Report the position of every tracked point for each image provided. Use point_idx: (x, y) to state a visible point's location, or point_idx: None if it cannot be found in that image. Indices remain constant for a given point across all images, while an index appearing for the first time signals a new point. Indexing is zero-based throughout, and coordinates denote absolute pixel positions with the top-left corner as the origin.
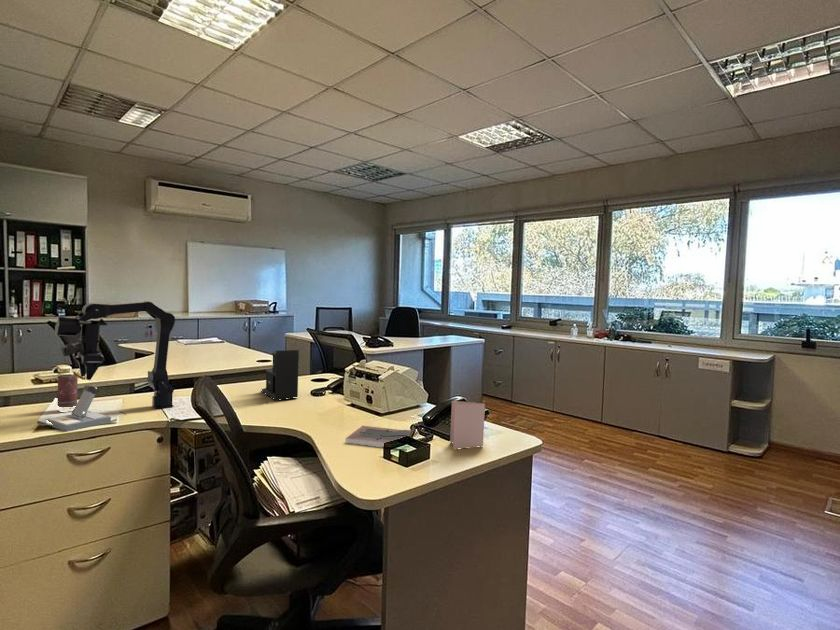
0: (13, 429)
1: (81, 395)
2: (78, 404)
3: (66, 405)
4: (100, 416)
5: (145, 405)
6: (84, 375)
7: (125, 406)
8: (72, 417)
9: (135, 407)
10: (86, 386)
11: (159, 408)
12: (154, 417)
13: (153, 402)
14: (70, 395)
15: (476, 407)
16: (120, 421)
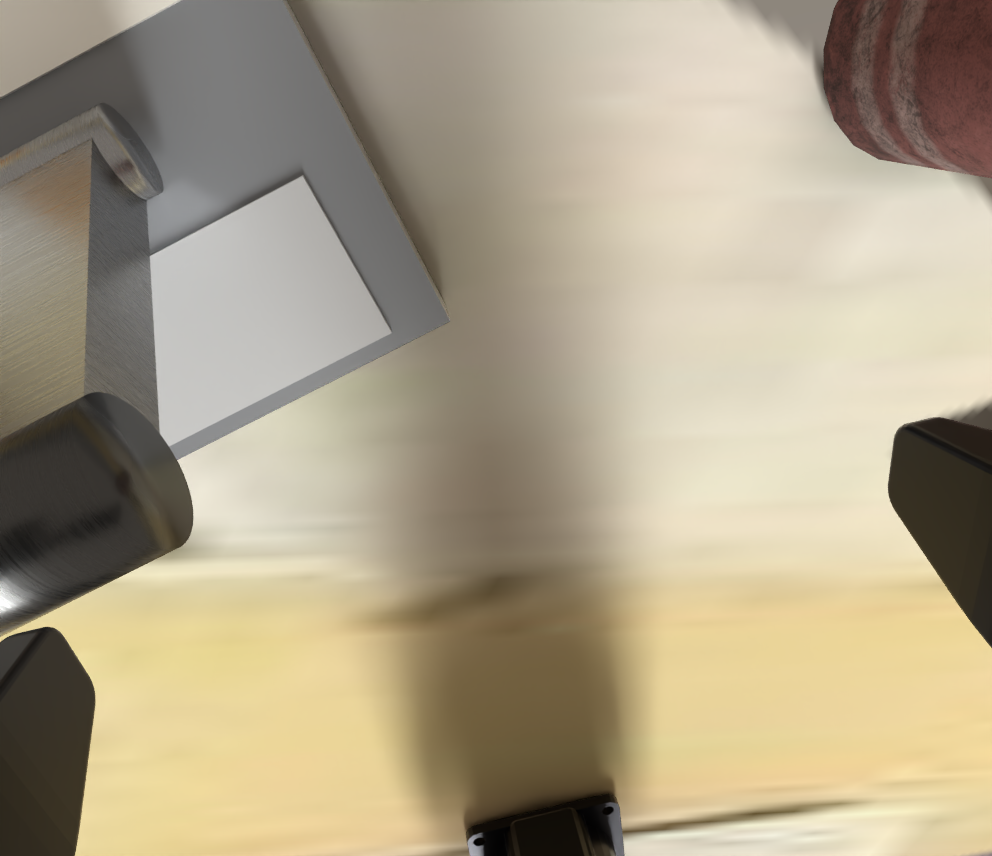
0: None
1: (79, 316)
2: (41, 227)
3: (878, 26)
4: None
5: (686, 743)
6: (901, 512)
7: (747, 604)
8: None
9: (649, 679)
10: (12, 505)
11: (467, 844)
12: (132, 825)
13: (541, 853)
14: (986, 82)
15: None
16: None
